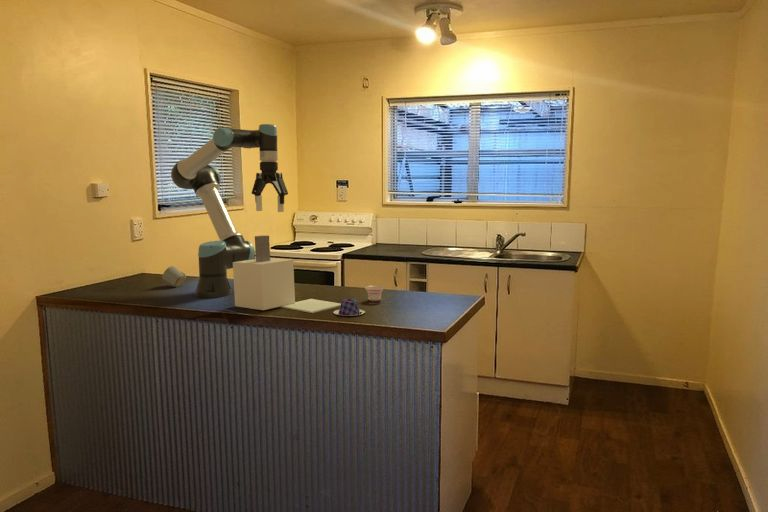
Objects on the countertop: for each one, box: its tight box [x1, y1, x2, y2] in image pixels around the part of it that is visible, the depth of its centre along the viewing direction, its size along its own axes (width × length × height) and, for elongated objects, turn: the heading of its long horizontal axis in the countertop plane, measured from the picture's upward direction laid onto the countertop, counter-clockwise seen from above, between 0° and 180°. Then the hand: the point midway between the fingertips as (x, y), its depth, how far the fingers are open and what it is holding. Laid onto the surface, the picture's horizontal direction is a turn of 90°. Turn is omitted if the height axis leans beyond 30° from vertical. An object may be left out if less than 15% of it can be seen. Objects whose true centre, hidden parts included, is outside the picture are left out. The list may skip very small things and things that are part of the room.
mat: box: [279, 298, 341, 314], centre depth 238 cm, size 18×18×1 cm
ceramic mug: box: [161, 265, 187, 288], centre depth 282 cm, size 11×8×8 cm
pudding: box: [333, 298, 366, 317], centre depth 226 cm, size 12×12×5 cm
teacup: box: [364, 285, 385, 305], centre depth 247 cm, size 12×12×6 cm
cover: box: [232, 235, 296, 311], centre depth 238 cm, size 17×17×28 cm
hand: (269, 211), depth 256 cm, fingers open, 13 cm apart
